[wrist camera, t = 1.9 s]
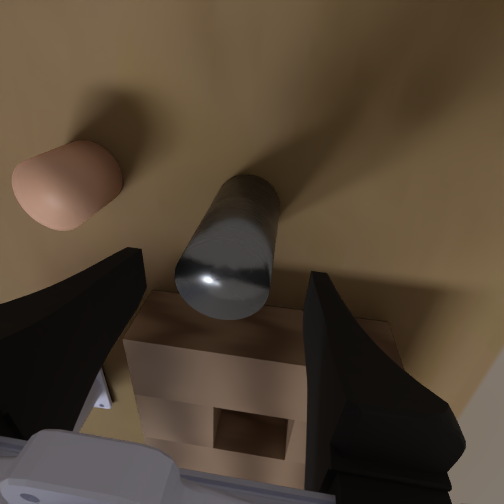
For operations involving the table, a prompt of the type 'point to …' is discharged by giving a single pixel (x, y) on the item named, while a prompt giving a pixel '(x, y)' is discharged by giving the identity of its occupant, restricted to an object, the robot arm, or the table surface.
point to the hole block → (226, 387)
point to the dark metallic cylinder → (232, 251)
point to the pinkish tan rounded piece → (67, 184)
